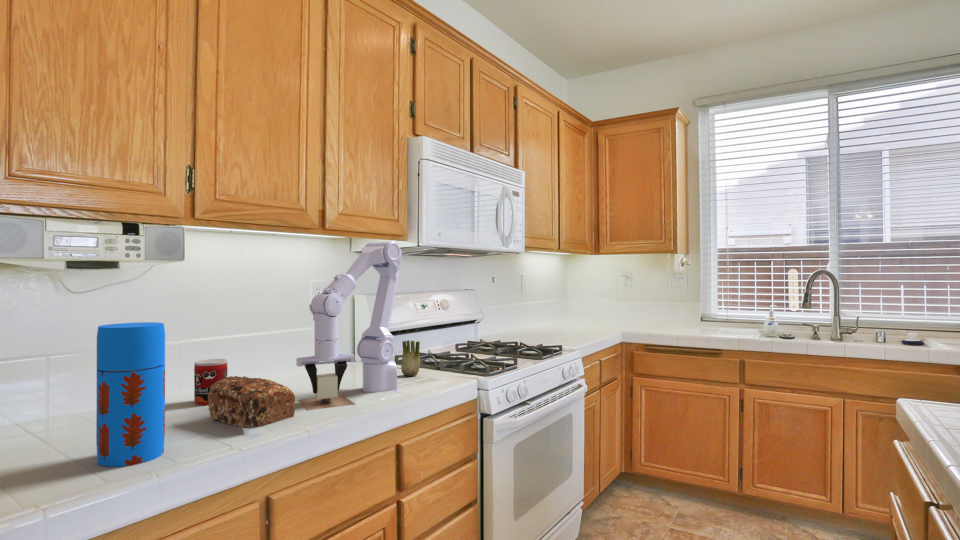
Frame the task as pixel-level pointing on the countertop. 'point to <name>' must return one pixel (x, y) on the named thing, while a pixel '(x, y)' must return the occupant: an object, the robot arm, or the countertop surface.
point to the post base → (325, 402)
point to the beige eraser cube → (327, 386)
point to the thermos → (130, 393)
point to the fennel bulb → (410, 358)
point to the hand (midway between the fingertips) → (326, 391)
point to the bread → (250, 401)
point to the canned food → (207, 377)
